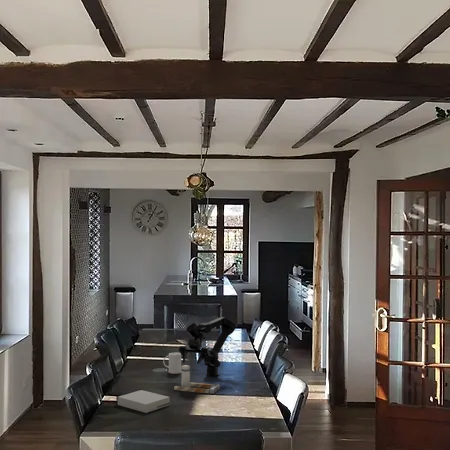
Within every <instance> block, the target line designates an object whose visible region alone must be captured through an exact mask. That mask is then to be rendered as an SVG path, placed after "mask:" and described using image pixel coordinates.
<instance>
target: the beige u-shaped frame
mask: <svg viewBox="0 0 450 450" xmlns="http://www.w3.org/2000/svg"><path fill="white" fill-rule="evenodd" d="M220 386H221V385H220V384H218V383H215V384H211V383H201V382H200V383H199V382H190V387H182V381H181V382H180V386H179V385H178V386H177V385H175V386H174V388H173V389H174V391H181V392H182V391H183V392H191V393H202V394H215V393H216V392H217V391H219V390H220ZM201 387H202V388H201Z"/></svg>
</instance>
